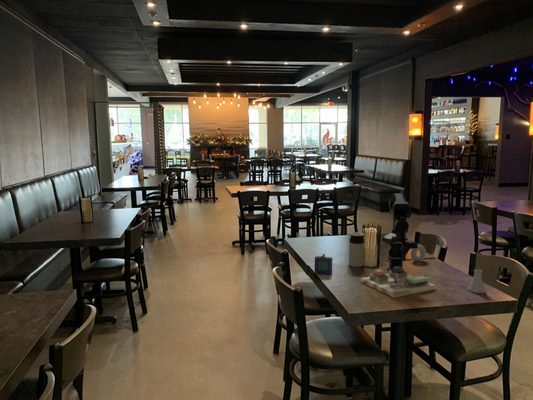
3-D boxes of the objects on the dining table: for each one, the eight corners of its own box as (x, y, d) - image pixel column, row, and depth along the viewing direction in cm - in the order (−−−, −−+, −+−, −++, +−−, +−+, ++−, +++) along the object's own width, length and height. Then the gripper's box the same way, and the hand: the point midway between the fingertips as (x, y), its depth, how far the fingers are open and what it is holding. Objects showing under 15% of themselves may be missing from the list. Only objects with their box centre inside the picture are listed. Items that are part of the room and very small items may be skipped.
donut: (412, 263, 239) (413, 245, 237) (408, 261, 242) (409, 244, 241) (426, 261, 242) (427, 244, 241) (422, 259, 245) (423, 243, 244)
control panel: (360, 282, 206) (361, 272, 205) (399, 275, 217) (400, 265, 216) (393, 297, 186) (394, 286, 185) (435, 289, 196) (435, 278, 196)
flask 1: (332, 273, 219) (332, 253, 218) (331, 275, 217) (332, 255, 215) (314, 272, 221) (314, 252, 220) (314, 274, 219) (314, 254, 217)
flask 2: (475, 294, 190) (477, 273, 188) (464, 289, 197) (465, 268, 195) (489, 293, 192) (490, 272, 190) (477, 287, 198) (478, 267, 197)
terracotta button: (372, 275, 205) (372, 270, 204) (379, 273, 206) (379, 269, 206) (378, 277, 201) (378, 272, 200) (385, 276, 202) (385, 271, 202)
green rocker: (401, 281, 199) (401, 278, 199) (418, 278, 204) (418, 275, 204) (413, 283, 192) (413, 280, 192) (431, 279, 197) (431, 276, 197)
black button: (391, 271, 210) (391, 267, 209) (398, 270, 212) (398, 265, 211) (397, 274, 206) (398, 269, 205) (404, 273, 208) (404, 268, 207)
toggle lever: (393, 284, 193) (389, 269, 195) (396, 283, 194) (392, 268, 196) (396, 283, 192) (392, 268, 194) (399, 283, 193) (395, 268, 194)
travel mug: (352, 267, 230) (353, 235, 227) (346, 263, 237) (347, 232, 235) (365, 266, 231) (366, 234, 229) (359, 262, 239) (360, 231, 236)
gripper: (374, 225, 210) (373, 255, 213) (401, 233, 194) (399, 265, 196) (391, 223, 215) (390, 253, 217) (419, 230, 198) (417, 262, 201)
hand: (398, 258), depth 208 cm, fingers open, 5 cm apart
